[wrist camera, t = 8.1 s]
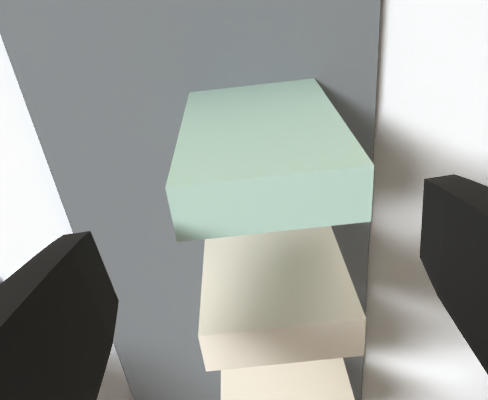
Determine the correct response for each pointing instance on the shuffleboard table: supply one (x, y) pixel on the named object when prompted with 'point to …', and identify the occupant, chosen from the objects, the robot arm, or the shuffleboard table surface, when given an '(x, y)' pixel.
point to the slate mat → (173, 140)
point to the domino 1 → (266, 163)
